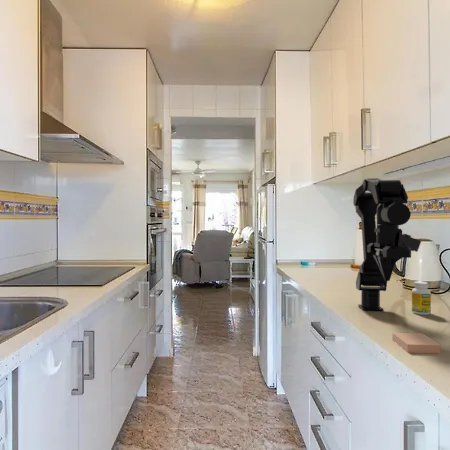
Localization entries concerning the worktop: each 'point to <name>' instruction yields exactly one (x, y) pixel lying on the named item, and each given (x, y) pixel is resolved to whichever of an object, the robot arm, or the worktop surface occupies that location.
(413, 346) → the block
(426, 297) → the supplement bottle
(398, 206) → the robot arm
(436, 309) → the worktop surface
